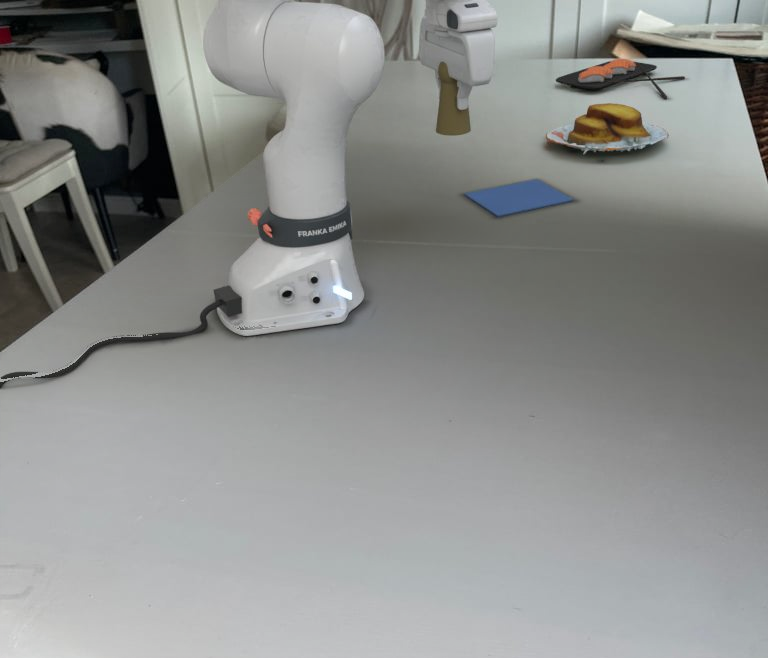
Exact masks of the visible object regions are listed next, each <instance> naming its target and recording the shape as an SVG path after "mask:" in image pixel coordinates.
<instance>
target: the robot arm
mask: <svg viewBox="0 0 768 658" xmlns="http://www.w3.org/2000/svg"><path fill="white" fill-rule="evenodd" d="M425 8H426V9H424V16H423V17H421V19H420V20H421V21H420V25H419V34H418V35H419V36H418V39H419V40H418V58H419V62H420V64H421V65H422V66H424V67H427V68H428V69H431V70H434V78H435V81H436V85H437V89H438V99H440V91H441V80H440V78H439V75H438V67H439V64H440V62H445V63H446V64H447V67H448V73H449V76H450V77H451V78H454V79H456V80H457V87H459V89H458V94H457V96H456V97H455V107H456V108H458V109H460V110H463V109H467V108H468V107H469V97H470V94H471V92H472V89H473V87H480V86H485V85H488V84H490V83H491V80H492V78H493V76H494V75H493V74H494V66H495V52H496V51H495V50H496V49H495V47H496V46H495V45H496V43H495V42H496V41H495V33H494V30H493V29H492V28H496V27H497V25H498V13H497V10H496V9H495V8H494V7H493V6H492V5H491V4H490V3H489V1H488V0H425ZM204 26H205V27H204V31H203V39H202V45H203V46H202V47H203V53H204V59H205V61H206V64H207V67H208V69H209V71H210V73H211V74H212V76H213V77H214V79H216V80H217V81H218V82H220V83H221V84H223V85H225V86H227V87H230V88H232V89H234V90H237V91H238V92H240V93H244V94H246V95H249V96H255V97H263V98H270V99H278V100H284V103H285V108H286V117H285V124H284V127H283V129H282V130H281V131H279V132H278V133H276V134H275V135H274V136H272V138H271V139H270V140H269V141H268V143H267V144H266V145H265V148H264V150H263V154H262V164H263V171H264V177H265V185H266V186H265V187H266V195H267V201H268V206H267V208H266V209H265V210H264V212H263V213H262V212H261V210H259V208H257V207H253V208H250V209H249V210H248V212H247V218H248V220H249V221H250V223H251V224H252V225H253V226H256V227H257V229H258V234H259V236H258V237H257V239H255V240H254V242H253V243H251V245H250V246H249V247H248V248H247V249H246V250H245V251H244V252H243V253H242V254H241V255H240V256H239V257H238V258H237V259H236V260H235V261H233V263H232V264H231V266H230V269H229V273H228V284H227V285H225V286H222V287H221V286H220V287H218V288H217V287H216V288H215V289H213V295H214V300H215V301H214V302H212V303H210V304H209V305H207V306H205V307H204V308H203V309H202V311H201V312H200V314H199V321H200V324H199V326H197V327H196V328H195V329H192V330H188V331H181V332H180V331H179V332H178V331H177V332H175V331H173V332H169V331H168V332H167V331H166V332H154V333H147V336H146V334H142V335H143V337H121V338H113V339H108V340H105V341H102V342H99V343H97V344H95V345H93V346H92V347H90V348H89V349H88V350H87V351H86V352H85V353H84V354H83V355H82V356H81V357H80V358H79V359H78V360H77V361H76V362H75V363H73V364H72V365H70V366H69V367H67V368H65V369H62V370H60V371H58V372H55V373H52V374H49V375H45V376H41V377H35V378H34V379H51V378H52V379H53V378H57V377H60V376H63V375H66V374H67V373H69V372H72V371H73V370H74V369H75V368H77V367H78V366H79V365H80V364H81V363H83V361H84V360H85V359H86V358H87V357H88V356H89V355H90V354H91V353H93V352H94V351H95V350H98V349H99V348H101V347H105V346H107V345H111V344H117V343H125V342H127V343H129V342H130V343H131V342H149V341H156V340H166V339H167V340H173V339H180V338H185V337H189V336H193V335H197V334H201V333H203V332H204V331H205V330H206V329H207V327H208V325H209V324H208V323H209V322H208V319H207V316H208V314H209V313H211V312H212V311H214V310H216V313H217V316H218V317H219V320H220V321H221V323H222V324H223V325H224V326H225V328H227V329H228V330H229V331H231V332H233V333H235V334H237V335H240V336H243V337H249V336H251V337H252V336H256V335H257V336H258V335H264V334H271V333H279V332H287V331H293V330H299V329H300V330H301V329H307V328H308V329H309V328H315V327H322V326H328V325H335V324H336V325H337V324H340V323H343V322H345V321H346V320H347V318H348V316H349V313H351V312H352V311H353V310H354V309H356V308H357V307H358V306H359V305H360V304H361V303H362V302H363V301H364V298H365V290H364V288H363V285H362V283H361V280H360V277H359V273H358V269H357V265H356V262H355V261H356V260H355V257H354V252H353V246H352V240H353V216H352V210H351V204H350V201H349V200H348V199H347V187H346V158H345V157H346V156H345V155H346V153H345V150H346V141H347V136H348V134H349V133H348V132H349V129H350V127H351V123H352V121H353V118H354V116H355V114H356V112H357V111H358V109H359V108H361V106H362V105H363V103H365V102H366V101H367V100H368V99H369V98H370V97H371V96H372V95H373V93H374V92H375V91H376V89H377V88H378V86H379V84H380V82H381V80H382V78H383V73H384V69H385V64H386V63H385V61H386V53H385V51H386V50H385V45H384V40H383V36H382V34H381V32H380V29H379V27H378V26H377V23H376V22H375V20H374V19H373V18H372V17H370V16H369V15H367V14H365V13H362V12H360V11H357V10H355V9H352V8H349V7H347V6H343V5H340V4H337V3H327V2H325V3H324V2H306V1H296V0H217V1H216V3H215V7H214V8H213V10H212V11H211V13H210V15H208V18H207V20H206V23H205V25H204ZM259 325H260V326H259ZM261 325H262V326H263V327H269V328H262V329H255V330H240V328H239V326H240V327H241V328H242V327H243V328H244V329H245V327H248V328H250V327H253V326H255V327H257V326H258V327H261ZM233 326H234V327H233ZM244 326H245V327H244ZM249 326H250V327H249ZM271 326H276V327H271ZM235 327H236V328H235ZM237 328H239V329H237ZM253 328H254V327H253ZM156 334H158V335H156ZM126 335H127V334H126ZM130 335H131V336H132V335H133V336H134V335H135V336H136V335H137V334H128V335H127V336H130ZM144 335H145V336H144ZM148 335H152V336H148ZM115 336H116V337H117V336H118V335H115ZM38 372H39V371H13V372H9V373H6V374H4V375H2V376H1V377H0V378H1V379H7V378H13V377H14V378H15V377H19V376H25V375H26V376H27V375H32V374H36V373H38ZM12 380H14V379H12ZM12 380H8V381H4V382H0V389H1V388H2V387H3V386H4V385H5V384H6V383H8V382H11V381H12Z"/></svg>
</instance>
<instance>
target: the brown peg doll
mask: <svg viewBox="0 0 768 658" xmlns="http://www.w3.org/2000/svg"><path fill="white" fill-rule="evenodd" d="M438 75H439V78H440V80H441V91H440V99H439V98H438V99H439V100H438V107H437V118H436V127H435V133H436V134H438V135H441V136H447V137H448V136H450V137H451V136H452V137H453V136H463V135H466V134H469V133H470V132H471V131H472V129H471V128H472V127H471V119H470V118H471V117H470V109H469V106H468V108H467V109H463V110H460V109H458V108H456V107H455V97H456V96H457V94H458V89H459V87H457V80H456V79H454V78H451V77H450V76H449V73H448V67H447V64H446V63H445V62H440V64H439V67H438Z"/></svg>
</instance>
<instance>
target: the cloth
mask: <svg viewBox="0 0 768 658" xmlns="http://www.w3.org/2000/svg"><path fill="white" fill-rule="evenodd" d="M464 196H465V197H467V198H468V199H470V200H471V201H472V202H474V203H476V204H477V205H479V206H480V207H481V208H483V209H485V210H486V211H488V213H491V214H493V215H494V216H495V217H497V218H500V217H505V216H509V215H514V214H519V213H522V212H529V211H532V210H536V209H542V208H547V207H551V206H555V205H560V204H565V203H570V202H573V201H574V199H573V198H572V197H570V196H568V195H566V194H564V193H563V192H562V191H559V190H557V189H555V188H554V187H552V186H550V185H549V184H546V183H545V182H544V181H541V180H539V179H537V178H534V179H531V180H526V181H521V182H520V181H519V182H515V183H512V184H511V183H510V184H505V185H501V186H495V187H491V188H485V189H481V190H476V191H471V192H465V193H464Z"/></svg>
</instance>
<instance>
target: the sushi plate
mask: <svg viewBox="0 0 768 658" xmlns="http://www.w3.org/2000/svg"><path fill="white" fill-rule="evenodd" d="M657 68H658V65H655V64H651V63H644V62H638V61H632V60H630V59H626V58H617V59H612V60H610V61H609V60H608V61H606V62H602V63H599V64H595V65H593V66H590V67H587V68H586V67H585V68H584V69H581V70H577V71H574V72H571V73H567V74H565V75H561V76H558V77H557V78H556V79H555V82H556V83H559V84H561V85H562V84H563V85H567V86H569V87H570V88H571V89H576V90H580V91H588V92H594V91H599V90H603V89H606V88H609V87H612V86H615V85H619V84H620V83H632V82H651V83H652V84H653V86H654V88H656V90H657V91H658V92H659V94H660V96H662V98H663V100H667V99H668V95H667V94H666V93H665V92H664V91H663V89H662V88H661V87H660V86H659V85H658V84H657V83H656V82H655V81H673V80H674V81H675V80H676V81H677V80H685V78H686V76H683V75H681V76H665V77H652V78H651V76H650V75H649V73H650V72H652V71H655V70H656V69H657ZM644 74H645V76H646V77H647V78H640V79H635V78H638V77H640V76H642V75H644Z"/></svg>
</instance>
